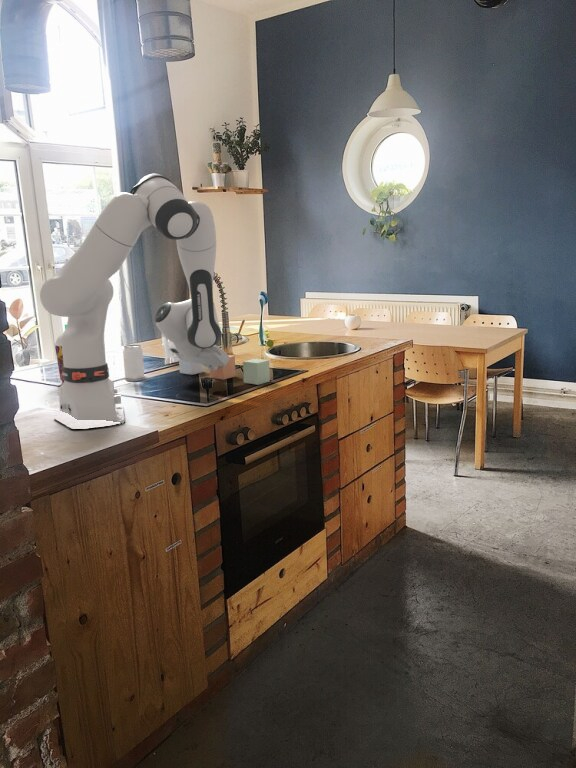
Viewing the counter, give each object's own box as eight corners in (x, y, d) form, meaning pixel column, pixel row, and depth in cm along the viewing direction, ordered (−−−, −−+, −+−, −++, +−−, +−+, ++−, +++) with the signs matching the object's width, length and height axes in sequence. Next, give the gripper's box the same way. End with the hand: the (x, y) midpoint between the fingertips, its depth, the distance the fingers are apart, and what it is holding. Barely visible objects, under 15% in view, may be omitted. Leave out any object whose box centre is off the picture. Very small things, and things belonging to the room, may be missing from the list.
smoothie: (62, 386, 221) (56, 326, 217) (55, 382, 228) (49, 324, 223) (87, 383, 225) (81, 324, 221) (79, 379, 232) (74, 322, 228)
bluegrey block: (191, 374, 229) (190, 354, 227) (179, 372, 232) (178, 353, 231) (204, 371, 233) (203, 352, 232) (192, 370, 237) (191, 350, 235)
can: (139, 382, 224) (137, 347, 222) (122, 382, 225) (119, 347, 223) (147, 378, 230) (145, 344, 228) (130, 378, 232) (127, 344, 229)
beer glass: (173, 366, 252) (170, 327, 249) (159, 364, 256) (157, 326, 252) (185, 363, 258) (183, 324, 254) (171, 361, 261) (169, 323, 258)
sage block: (257, 384, 210) (257, 363, 209) (243, 382, 214) (242, 361, 213) (269, 381, 215) (269, 360, 214) (255, 379, 219) (255, 358, 217)
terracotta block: (223, 379, 220) (222, 358, 218) (210, 377, 223) (209, 357, 222) (235, 376, 224) (234, 356, 223) (222, 374, 228) (221, 354, 226)
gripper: (219, 337, 205) (241, 363, 214) (174, 333, 217) (197, 358, 227) (210, 354, 202) (233, 379, 212) (165, 348, 215) (188, 373, 224)
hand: (214, 368), depth 220 cm, fingers closed
